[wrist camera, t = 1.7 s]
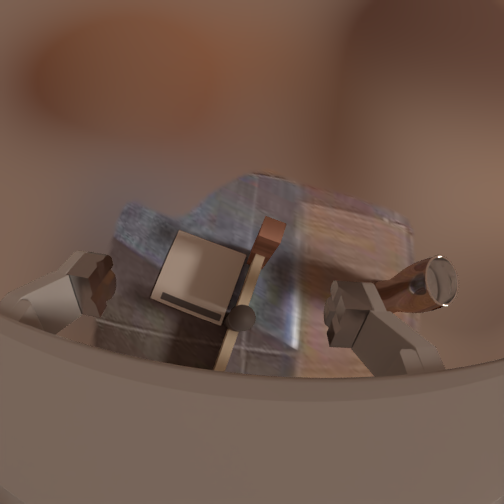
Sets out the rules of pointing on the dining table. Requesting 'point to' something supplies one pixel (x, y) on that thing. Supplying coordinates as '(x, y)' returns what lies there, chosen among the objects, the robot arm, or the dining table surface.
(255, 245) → the fence gate
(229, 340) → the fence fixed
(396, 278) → the beer glass
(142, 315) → the dining table surface
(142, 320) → the dining table surface
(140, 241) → the dining table surface
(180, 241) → the card
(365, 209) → the dining table surface
